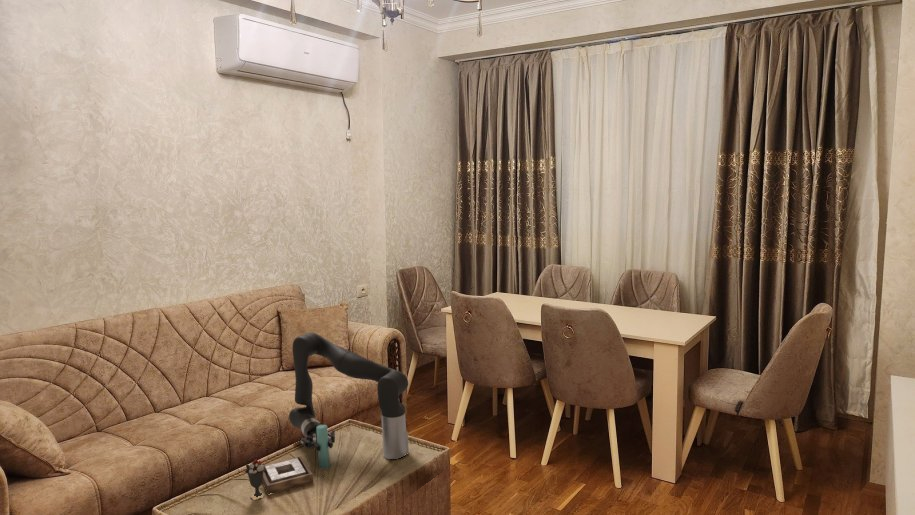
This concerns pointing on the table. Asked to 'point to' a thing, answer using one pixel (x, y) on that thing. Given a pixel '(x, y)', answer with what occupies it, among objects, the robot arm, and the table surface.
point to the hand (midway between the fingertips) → (325, 447)
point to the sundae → (256, 475)
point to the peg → (323, 446)
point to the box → (290, 482)
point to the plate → (284, 470)
